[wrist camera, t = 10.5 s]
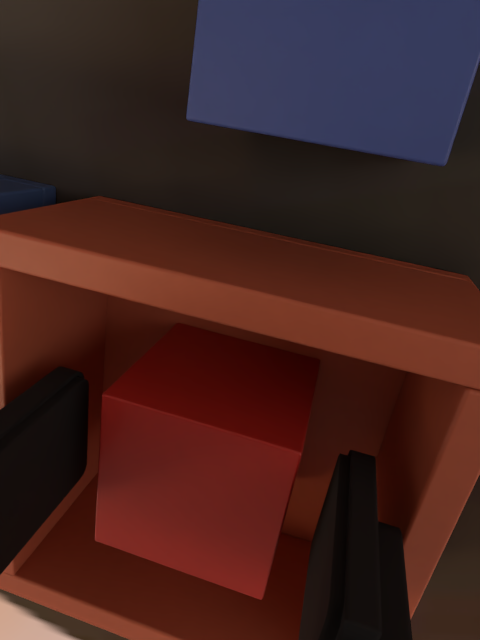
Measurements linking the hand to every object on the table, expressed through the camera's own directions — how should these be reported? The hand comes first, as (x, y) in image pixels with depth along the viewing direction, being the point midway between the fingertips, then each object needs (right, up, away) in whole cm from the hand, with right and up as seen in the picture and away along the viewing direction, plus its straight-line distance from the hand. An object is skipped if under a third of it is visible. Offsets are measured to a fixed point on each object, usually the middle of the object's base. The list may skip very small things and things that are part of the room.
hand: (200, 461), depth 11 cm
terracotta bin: (+1, +1, +4) cm, 4 cm away
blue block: (+4, +10, 0) cm, 10 cm away
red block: (+1, +1, +3) cm, 4 cm away
